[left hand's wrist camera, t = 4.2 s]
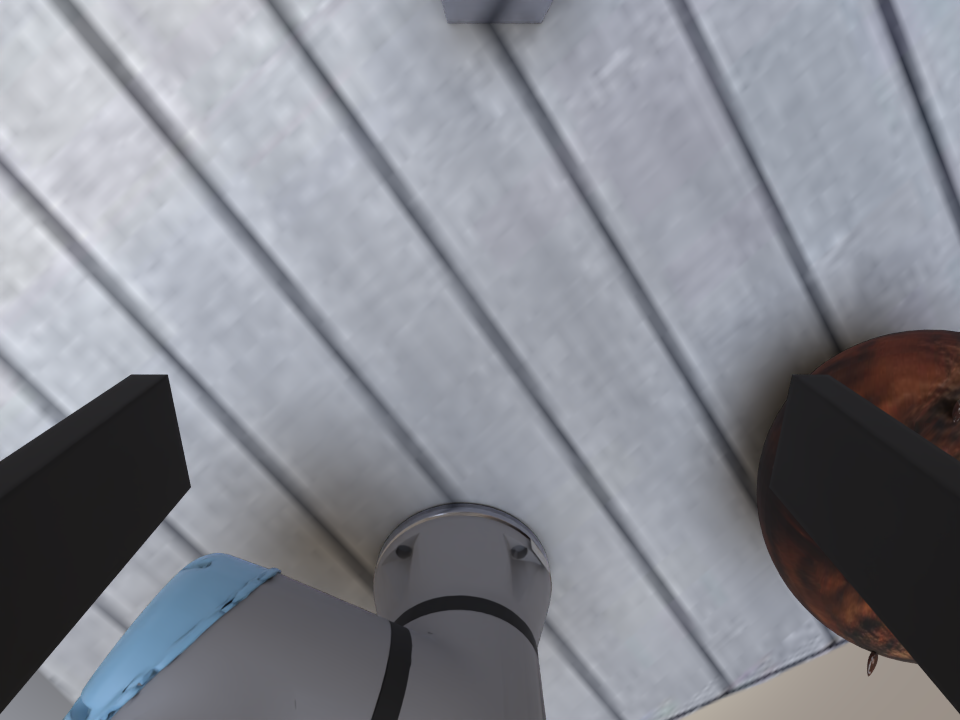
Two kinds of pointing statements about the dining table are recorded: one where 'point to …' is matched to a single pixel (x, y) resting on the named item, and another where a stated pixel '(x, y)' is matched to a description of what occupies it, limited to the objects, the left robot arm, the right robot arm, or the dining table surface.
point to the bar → (495, 11)
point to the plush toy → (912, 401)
